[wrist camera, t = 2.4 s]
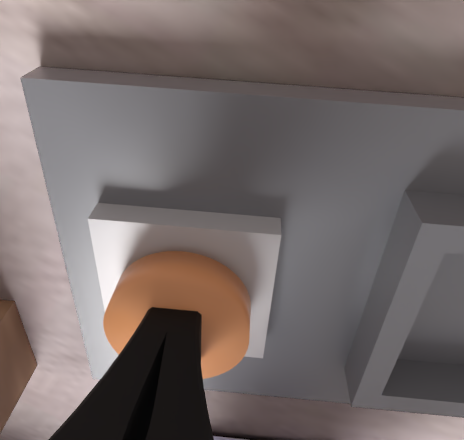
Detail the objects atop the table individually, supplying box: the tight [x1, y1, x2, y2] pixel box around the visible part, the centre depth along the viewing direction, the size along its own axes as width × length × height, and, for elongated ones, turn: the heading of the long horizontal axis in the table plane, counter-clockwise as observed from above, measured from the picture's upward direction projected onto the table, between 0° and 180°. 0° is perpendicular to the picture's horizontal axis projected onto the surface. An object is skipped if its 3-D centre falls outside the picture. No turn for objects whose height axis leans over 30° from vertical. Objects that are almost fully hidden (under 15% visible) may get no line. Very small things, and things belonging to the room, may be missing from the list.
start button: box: [103, 251, 251, 379], centre depth 12 cm, size 4×4×1 cm
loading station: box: [21, 67, 464, 418], centre depth 13 cm, size 12×18×2 cm, turn 87°
